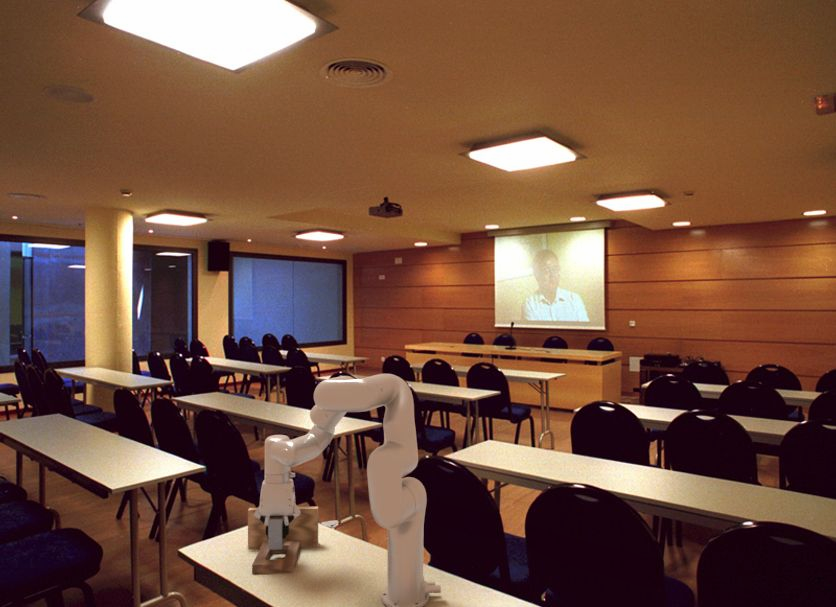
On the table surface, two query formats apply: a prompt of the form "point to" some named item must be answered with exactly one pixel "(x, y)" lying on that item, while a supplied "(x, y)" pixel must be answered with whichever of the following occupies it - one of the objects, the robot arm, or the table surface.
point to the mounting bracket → (330, 523)
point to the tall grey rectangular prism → (275, 532)
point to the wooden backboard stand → (300, 534)
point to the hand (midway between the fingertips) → (277, 536)
